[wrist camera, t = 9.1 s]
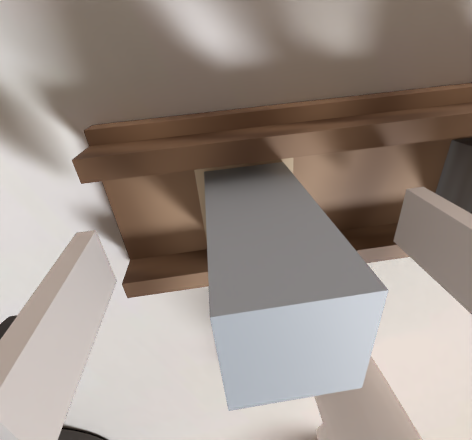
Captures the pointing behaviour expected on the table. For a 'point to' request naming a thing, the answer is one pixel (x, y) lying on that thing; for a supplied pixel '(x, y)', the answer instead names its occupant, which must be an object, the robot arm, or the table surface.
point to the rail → (273, 151)
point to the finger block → (284, 290)
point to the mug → (365, 412)
